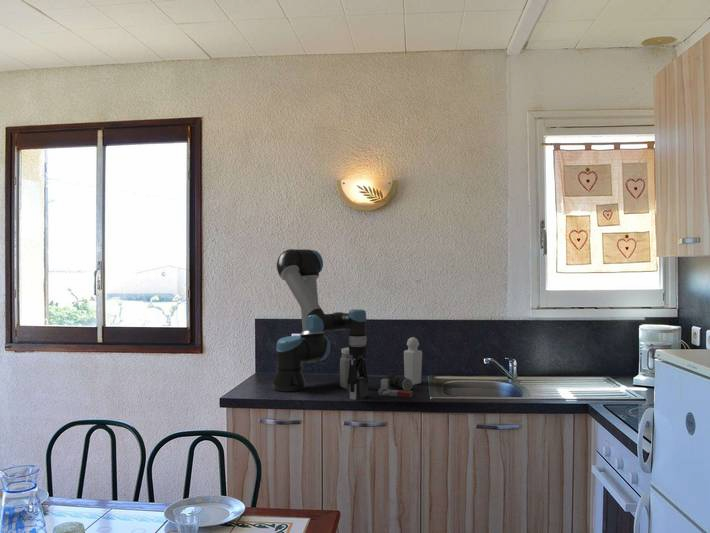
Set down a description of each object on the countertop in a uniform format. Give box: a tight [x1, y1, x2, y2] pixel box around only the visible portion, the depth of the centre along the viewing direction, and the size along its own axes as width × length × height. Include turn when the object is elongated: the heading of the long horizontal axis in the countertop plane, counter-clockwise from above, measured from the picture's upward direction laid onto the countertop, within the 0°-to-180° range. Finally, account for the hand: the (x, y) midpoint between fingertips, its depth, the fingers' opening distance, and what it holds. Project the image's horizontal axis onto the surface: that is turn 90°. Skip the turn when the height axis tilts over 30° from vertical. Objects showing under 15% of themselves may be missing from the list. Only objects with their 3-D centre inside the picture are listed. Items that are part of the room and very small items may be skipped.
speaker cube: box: [346, 376, 369, 400], centre depth 234 cm, size 7×7×8 cm
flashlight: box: [385, 373, 413, 391], centre depth 252 cm, size 15×5×5 cm, turn 29°
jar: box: [339, 346, 360, 390], centre depth 251 cm, size 10×10×18 cm
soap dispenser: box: [403, 336, 423, 386], centre depth 260 cm, size 6×6×22 cm
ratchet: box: [377, 378, 414, 399], centre depth 236 cm, size 15×6×6 cm, turn 70°
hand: (357, 396), depth 234 cm, fingers open, 11 cm apart
